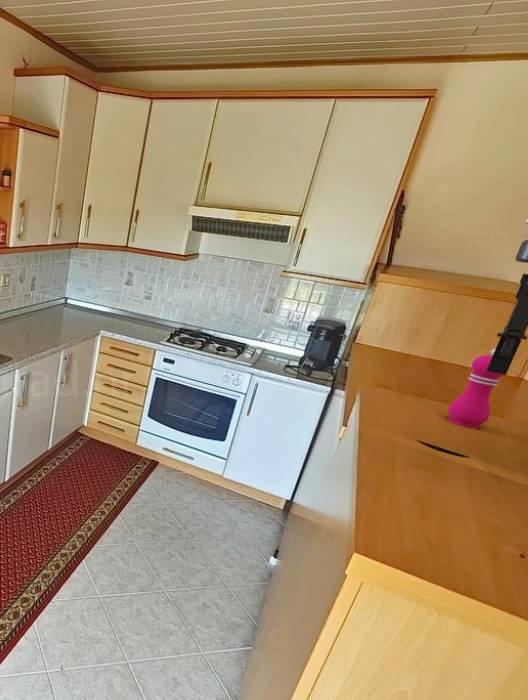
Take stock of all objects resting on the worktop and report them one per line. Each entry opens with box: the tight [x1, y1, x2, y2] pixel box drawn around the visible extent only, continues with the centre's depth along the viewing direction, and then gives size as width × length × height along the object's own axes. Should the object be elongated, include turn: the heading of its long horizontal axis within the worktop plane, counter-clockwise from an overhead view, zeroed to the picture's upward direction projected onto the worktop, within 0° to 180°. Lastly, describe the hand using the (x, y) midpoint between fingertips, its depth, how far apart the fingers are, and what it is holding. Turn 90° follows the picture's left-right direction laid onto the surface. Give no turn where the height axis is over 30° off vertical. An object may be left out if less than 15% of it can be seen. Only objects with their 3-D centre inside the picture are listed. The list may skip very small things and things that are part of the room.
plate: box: [416, 439, 472, 459], centre depth 105 cm, size 11×11×2 cm
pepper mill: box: [447, 348, 504, 429], centre depth 112 cm, size 7×7×20 cm
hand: (496, 372), depth 90 cm, fingers closed
